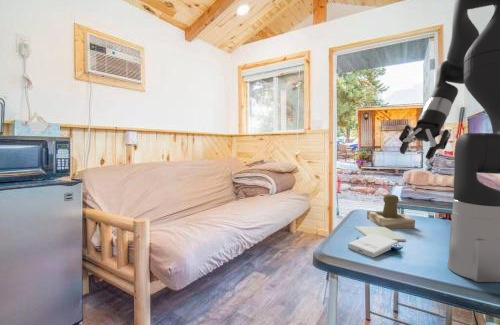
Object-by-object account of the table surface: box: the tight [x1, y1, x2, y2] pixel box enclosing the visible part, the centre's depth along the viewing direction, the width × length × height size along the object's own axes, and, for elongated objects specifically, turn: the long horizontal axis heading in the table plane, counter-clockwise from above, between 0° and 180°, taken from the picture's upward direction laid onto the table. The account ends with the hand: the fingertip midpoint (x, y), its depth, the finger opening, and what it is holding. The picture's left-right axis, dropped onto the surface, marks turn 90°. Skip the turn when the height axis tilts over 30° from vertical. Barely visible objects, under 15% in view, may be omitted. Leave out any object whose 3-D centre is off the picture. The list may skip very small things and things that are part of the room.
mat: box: [354, 225, 407, 242], centre depth 89 cm, size 12×11×1 cm
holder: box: [366, 210, 416, 229], centre depth 102 cm, size 12×12×3 cm
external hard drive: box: [347, 233, 400, 259], centre depth 76 cm, size 2×8×12 cm
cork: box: [382, 193, 400, 218], centre depth 102 cm, size 6×6×11 cm
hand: (414, 155), depth 90 cm, fingers open, 8 cm apart
